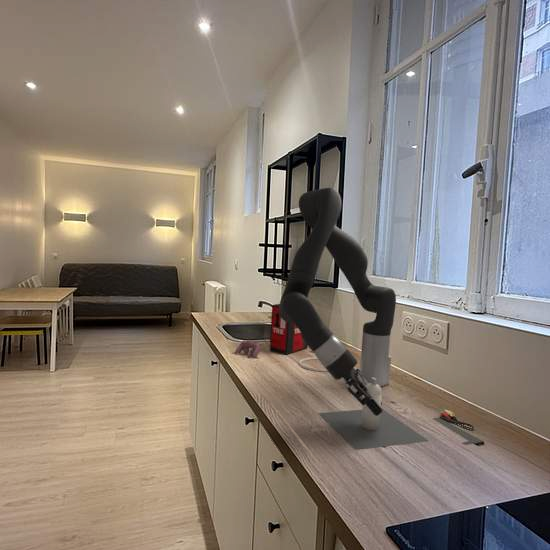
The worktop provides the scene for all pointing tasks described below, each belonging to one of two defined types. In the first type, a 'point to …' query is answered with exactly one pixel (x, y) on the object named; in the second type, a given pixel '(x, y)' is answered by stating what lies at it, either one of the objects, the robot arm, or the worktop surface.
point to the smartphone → (461, 433)
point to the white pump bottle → (367, 415)
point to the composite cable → (452, 418)
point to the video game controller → (248, 344)
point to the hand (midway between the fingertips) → (379, 409)
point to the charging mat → (363, 438)
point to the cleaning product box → (284, 335)
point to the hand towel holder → (310, 367)
